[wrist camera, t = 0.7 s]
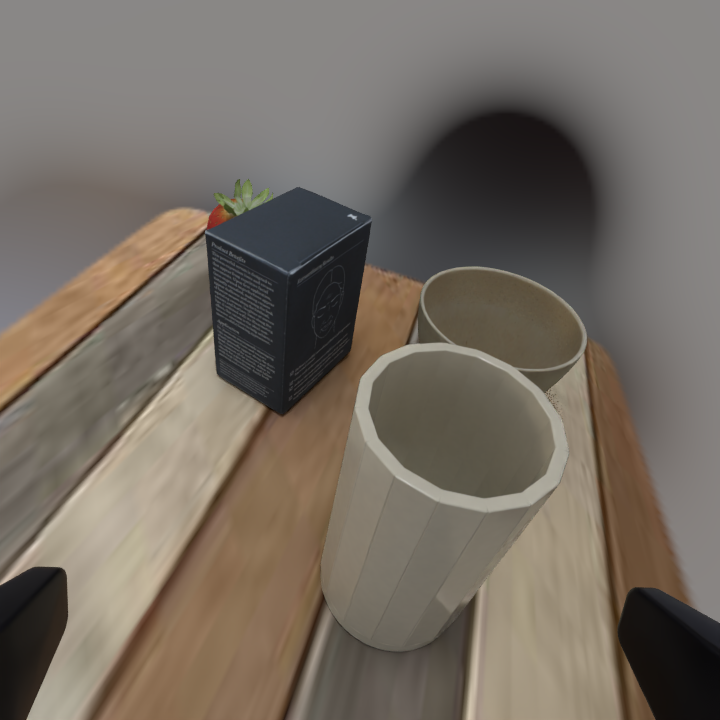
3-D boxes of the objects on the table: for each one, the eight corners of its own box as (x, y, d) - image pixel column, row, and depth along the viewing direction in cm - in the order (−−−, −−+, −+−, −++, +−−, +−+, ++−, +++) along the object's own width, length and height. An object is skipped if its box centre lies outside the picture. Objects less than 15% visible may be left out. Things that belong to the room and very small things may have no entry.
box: (289, 319, 37) (298, 183, 30) (351, 353, 35) (377, 217, 28) (212, 375, 32) (201, 226, 24) (281, 419, 30) (291, 272, 23)
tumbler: (482, 633, 23) (612, 491, 14) (336, 668, 21) (392, 528, 13) (431, 500, 27) (507, 338, 19) (308, 519, 25) (336, 347, 17)
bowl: (490, 337, 39) (524, 260, 34) (568, 435, 32) (623, 357, 28) (375, 353, 36) (394, 270, 31) (436, 467, 29) (473, 383, 24)
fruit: (245, 308, 37) (244, 209, 32) (196, 278, 39) (187, 180, 33) (290, 281, 40) (296, 188, 35) (242, 255, 42) (241, 162, 37)
